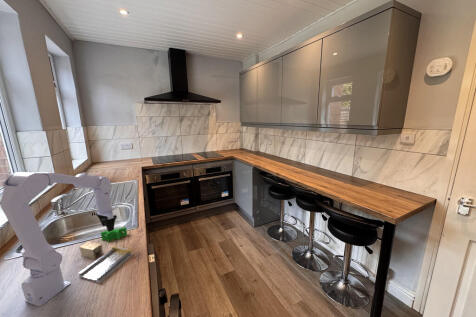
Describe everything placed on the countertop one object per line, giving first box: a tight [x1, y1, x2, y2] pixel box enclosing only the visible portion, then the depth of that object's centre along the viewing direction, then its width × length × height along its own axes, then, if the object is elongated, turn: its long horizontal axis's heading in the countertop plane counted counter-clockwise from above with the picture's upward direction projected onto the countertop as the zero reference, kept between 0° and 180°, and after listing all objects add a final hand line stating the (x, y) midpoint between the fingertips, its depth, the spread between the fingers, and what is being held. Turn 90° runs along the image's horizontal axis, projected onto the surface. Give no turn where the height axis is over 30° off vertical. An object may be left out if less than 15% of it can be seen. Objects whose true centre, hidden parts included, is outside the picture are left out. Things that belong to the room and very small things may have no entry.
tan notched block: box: [79, 240, 104, 261], centre depth 87 cm, size 8×4×5 cm, turn 74°
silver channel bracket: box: [77, 245, 134, 284], centre depth 81 cm, size 16×11×3 cm
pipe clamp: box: [100, 226, 128, 243], centre depth 99 cm, size 11×4×5 cm, turn 110°
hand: (108, 228), depth 91 cm, fingers open, 7 cm apart
